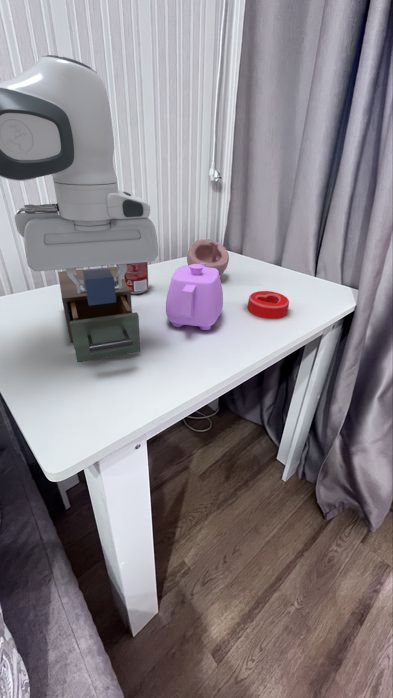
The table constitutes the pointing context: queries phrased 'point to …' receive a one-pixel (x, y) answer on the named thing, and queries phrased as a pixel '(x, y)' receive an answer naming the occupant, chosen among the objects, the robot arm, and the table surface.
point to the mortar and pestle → (208, 254)
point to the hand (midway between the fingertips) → (100, 290)
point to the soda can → (137, 277)
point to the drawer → (104, 330)
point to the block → (99, 286)
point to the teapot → (194, 296)
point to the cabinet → (71, 293)
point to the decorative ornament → (268, 304)
